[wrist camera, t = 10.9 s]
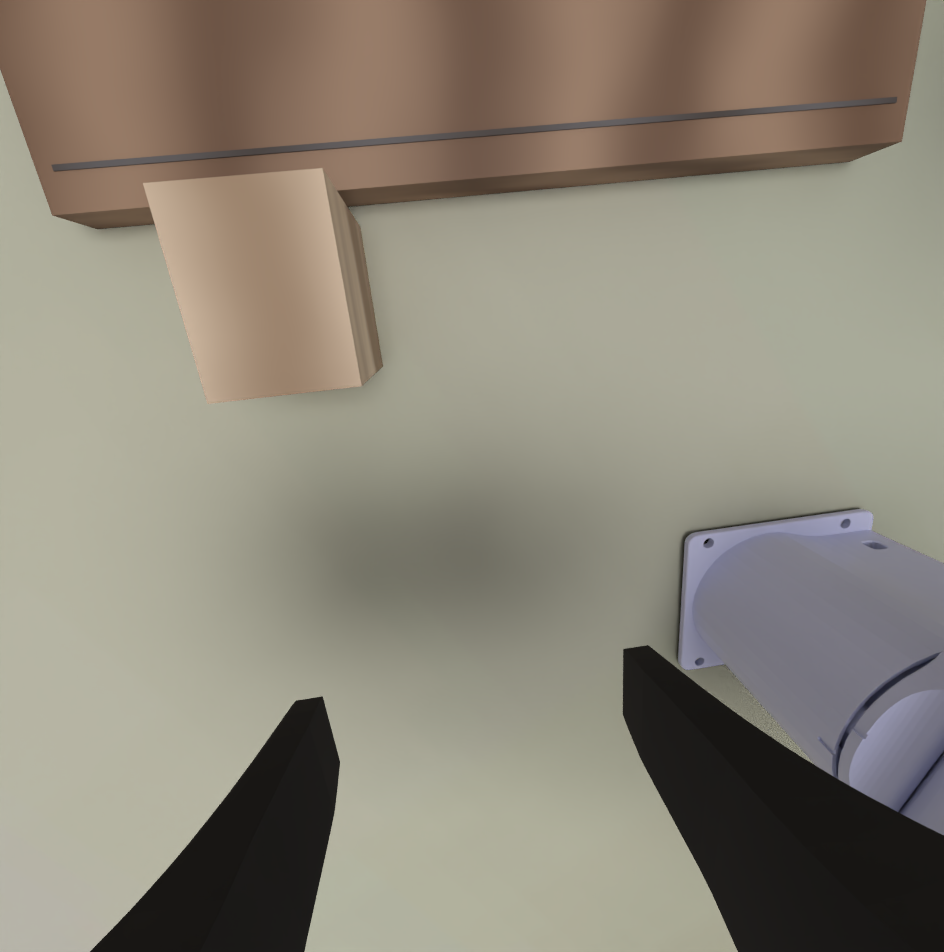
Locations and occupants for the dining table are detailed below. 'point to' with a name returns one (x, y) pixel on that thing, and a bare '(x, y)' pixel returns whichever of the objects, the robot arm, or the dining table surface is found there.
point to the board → (445, 92)
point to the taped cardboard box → (268, 282)
